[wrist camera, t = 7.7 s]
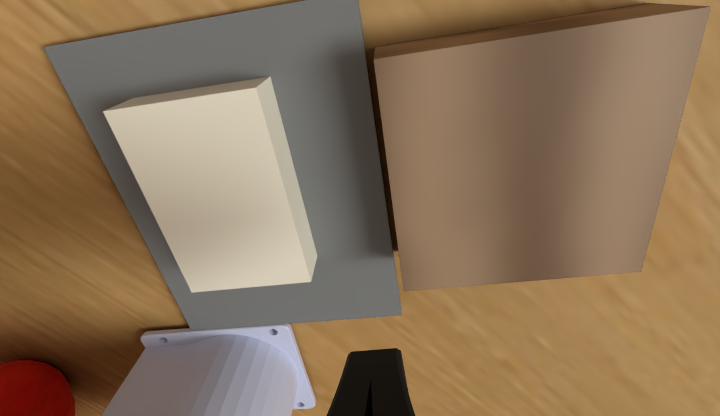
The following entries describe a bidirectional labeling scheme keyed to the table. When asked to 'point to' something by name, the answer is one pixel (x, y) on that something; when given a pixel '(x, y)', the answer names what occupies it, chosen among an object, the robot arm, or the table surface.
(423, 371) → the table surface
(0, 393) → the apple
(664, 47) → the riser
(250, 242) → the cream rectangular block
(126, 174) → the mat
